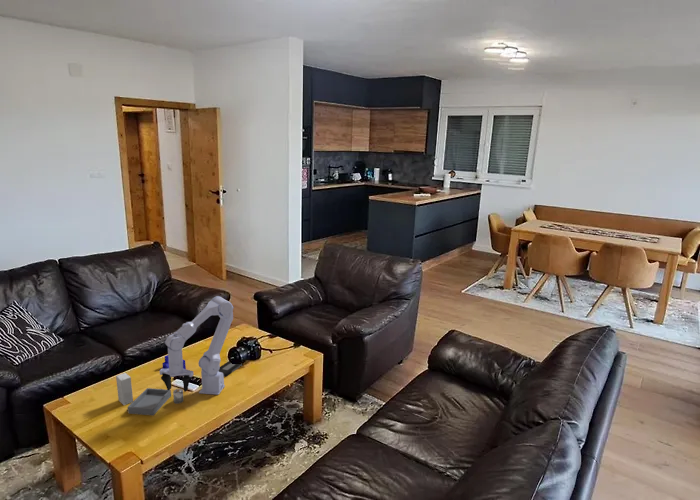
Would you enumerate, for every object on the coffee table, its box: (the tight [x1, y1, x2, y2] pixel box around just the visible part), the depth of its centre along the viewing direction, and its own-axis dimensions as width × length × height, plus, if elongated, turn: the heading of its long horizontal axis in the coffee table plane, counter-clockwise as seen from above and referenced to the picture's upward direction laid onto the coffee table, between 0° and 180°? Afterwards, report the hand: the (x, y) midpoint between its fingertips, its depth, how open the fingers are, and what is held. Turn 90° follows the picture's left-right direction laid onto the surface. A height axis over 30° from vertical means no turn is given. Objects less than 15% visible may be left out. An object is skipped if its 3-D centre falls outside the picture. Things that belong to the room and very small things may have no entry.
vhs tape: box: [219, 360, 243, 378], centre depth 227 cm, size 8×14×2 cm, turn 156°
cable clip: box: [162, 354, 187, 369], centre depth 225 cm, size 12×4×6 cm, turn 59°
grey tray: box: [127, 387, 172, 416], centre depth 195 cm, size 11×15×3 cm
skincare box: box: [115, 372, 134, 406], centre depth 196 cm, size 6×4×12 cm
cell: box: [172, 388, 185, 405], centre depth 198 cm, size 4×4×6 cm
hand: (177, 389), depth 197 cm, fingers open, 7 cm apart
